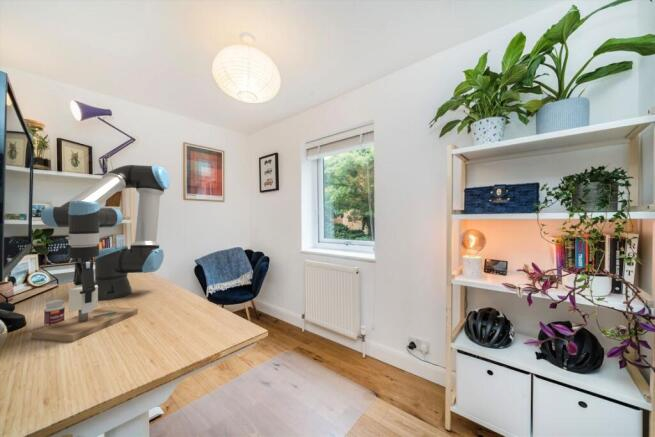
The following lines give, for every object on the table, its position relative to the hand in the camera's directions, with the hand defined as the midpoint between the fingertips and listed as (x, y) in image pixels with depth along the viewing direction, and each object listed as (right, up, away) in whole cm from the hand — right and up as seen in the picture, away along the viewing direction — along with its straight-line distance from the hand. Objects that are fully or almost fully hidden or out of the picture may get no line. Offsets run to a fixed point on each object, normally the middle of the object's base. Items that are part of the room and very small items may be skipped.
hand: (83, 307), depth 84 cm
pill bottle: (-11, -7, +1) cm, 13 cm away
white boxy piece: (+2, -4, +2) cm, 5 cm away
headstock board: (+1, -7, +2) cm, 7 cm away
